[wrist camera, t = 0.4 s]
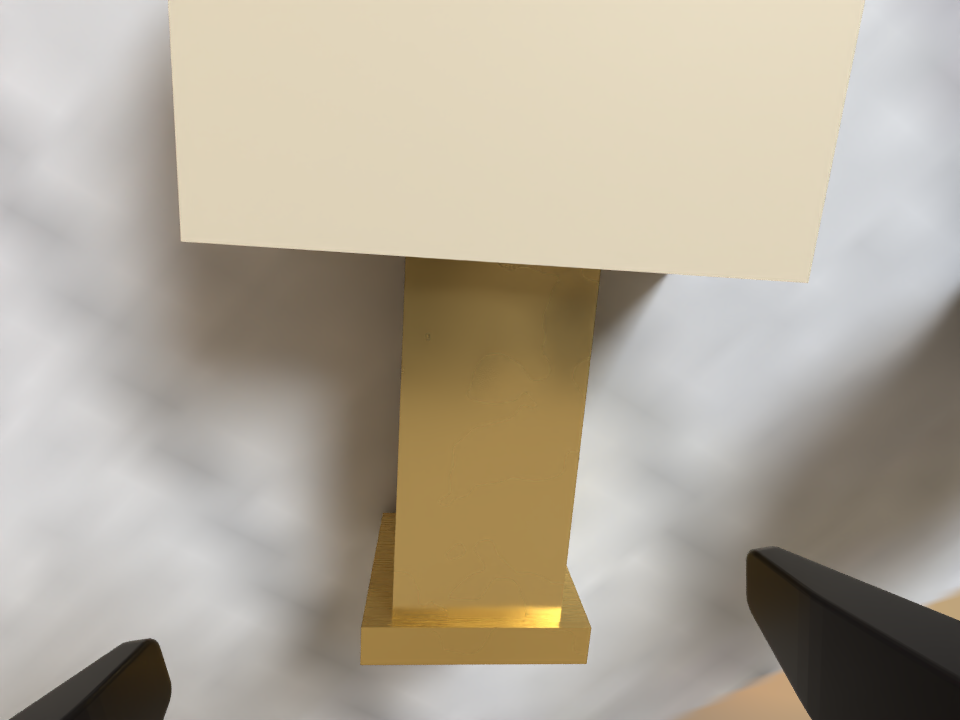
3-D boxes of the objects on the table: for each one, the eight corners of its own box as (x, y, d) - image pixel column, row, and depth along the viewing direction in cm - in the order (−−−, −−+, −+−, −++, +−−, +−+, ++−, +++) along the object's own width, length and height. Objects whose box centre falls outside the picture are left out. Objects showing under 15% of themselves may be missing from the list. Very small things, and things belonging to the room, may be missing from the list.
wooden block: (593, 74, 18) (674, -10, 12) (544, 543, 21) (586, 664, 15) (396, 54, 17) (376, -45, 11) (382, 540, 21) (360, 665, 15)
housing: (720, -48, 17) (913, -239, 10) (674, 265, 20) (807, 282, 13) (273, -104, 16) (147, -367, 9) (278, 239, 18) (180, 241, 11)
